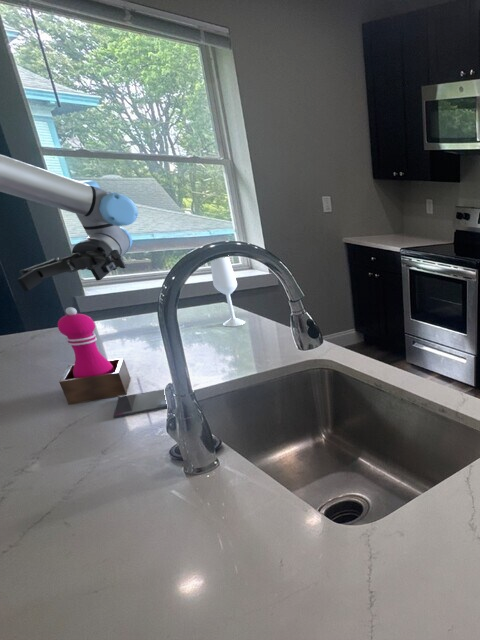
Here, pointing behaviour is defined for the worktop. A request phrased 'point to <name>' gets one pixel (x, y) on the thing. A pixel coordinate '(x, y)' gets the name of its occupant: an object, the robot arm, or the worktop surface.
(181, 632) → the worktop surface
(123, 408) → the slate coaster
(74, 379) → the mill caddy
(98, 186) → the robot arm
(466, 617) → the worktop surface
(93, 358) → the pepper mill
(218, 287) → the champagne flute
